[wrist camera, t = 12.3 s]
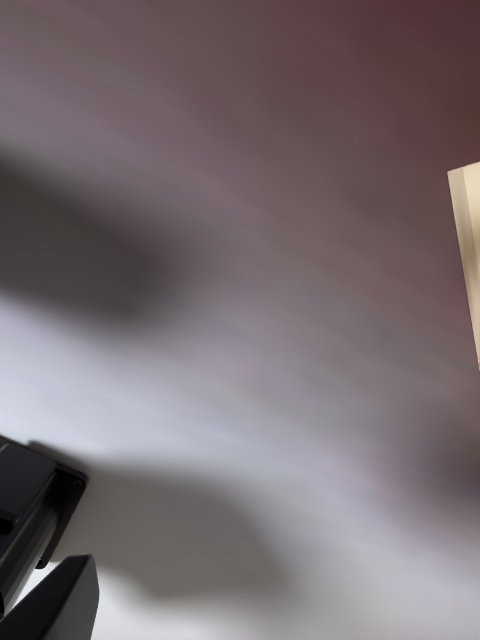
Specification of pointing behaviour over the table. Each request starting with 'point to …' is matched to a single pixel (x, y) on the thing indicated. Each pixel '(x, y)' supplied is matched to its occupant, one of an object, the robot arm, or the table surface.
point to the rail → (469, 235)
